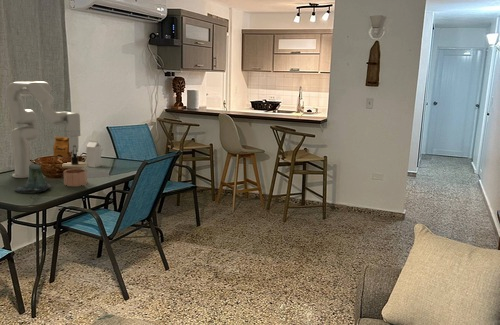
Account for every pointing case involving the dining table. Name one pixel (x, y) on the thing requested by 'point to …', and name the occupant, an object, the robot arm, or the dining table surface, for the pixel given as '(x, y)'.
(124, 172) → the dining table surface
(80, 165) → the lid
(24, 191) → the tree stump
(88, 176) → the mat
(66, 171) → the bowl
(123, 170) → the dining table surface
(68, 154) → the coffee package
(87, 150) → the milk carton
